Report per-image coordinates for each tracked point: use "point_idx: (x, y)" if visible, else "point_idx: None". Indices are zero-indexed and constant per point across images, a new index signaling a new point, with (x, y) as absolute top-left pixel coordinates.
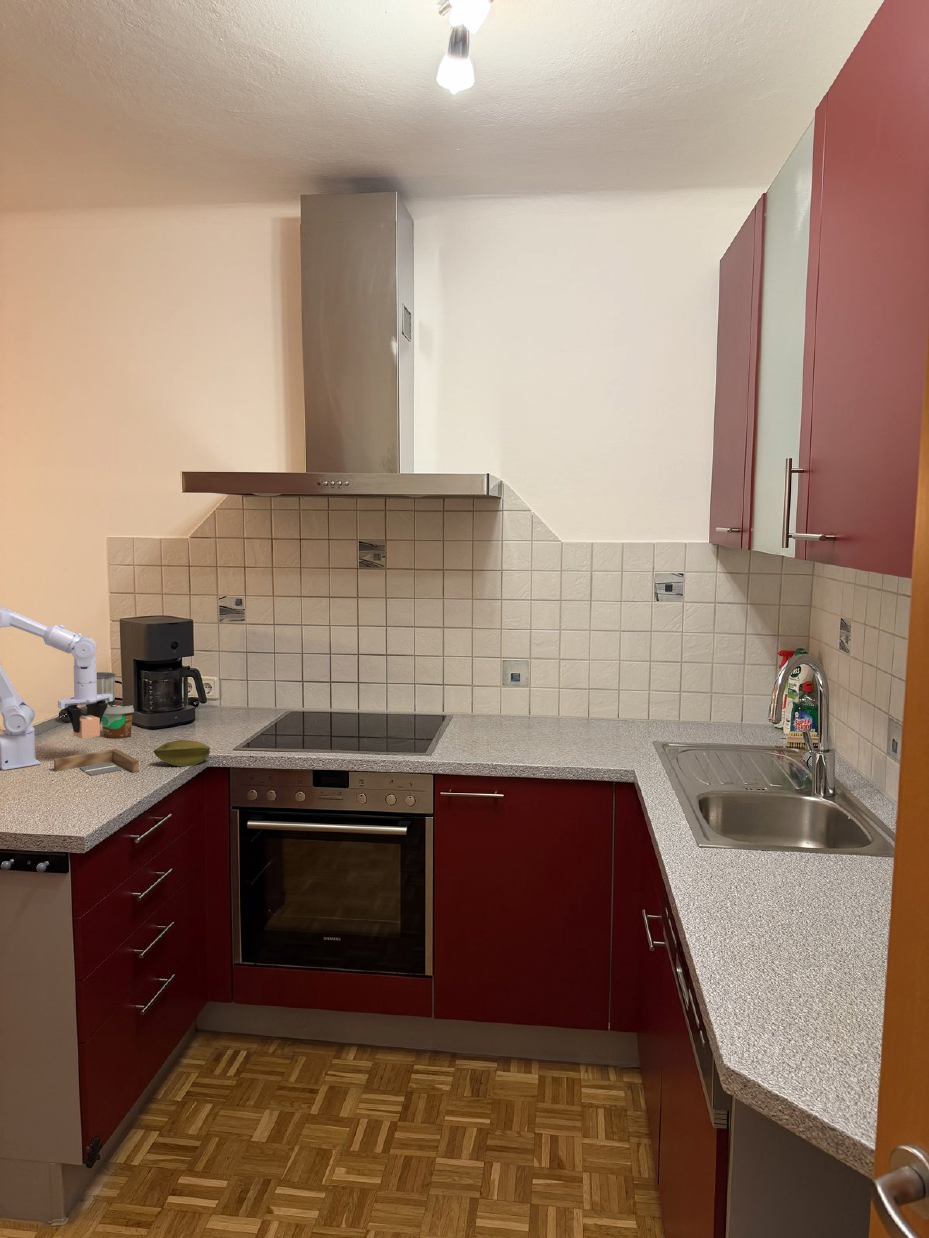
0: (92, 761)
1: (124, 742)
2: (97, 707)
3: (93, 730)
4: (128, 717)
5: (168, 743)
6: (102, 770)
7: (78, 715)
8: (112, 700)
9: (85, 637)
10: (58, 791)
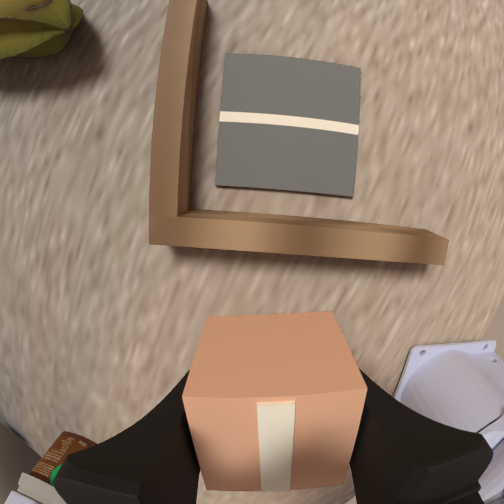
0: (285, 218)
1: (83, 406)
2: (166, 500)
3: (251, 336)
4: (43, 470)
5: (15, 14)
6: (298, 86)
7: (401, 432)
8: (12, 494)
9: None
10: (479, 19)
